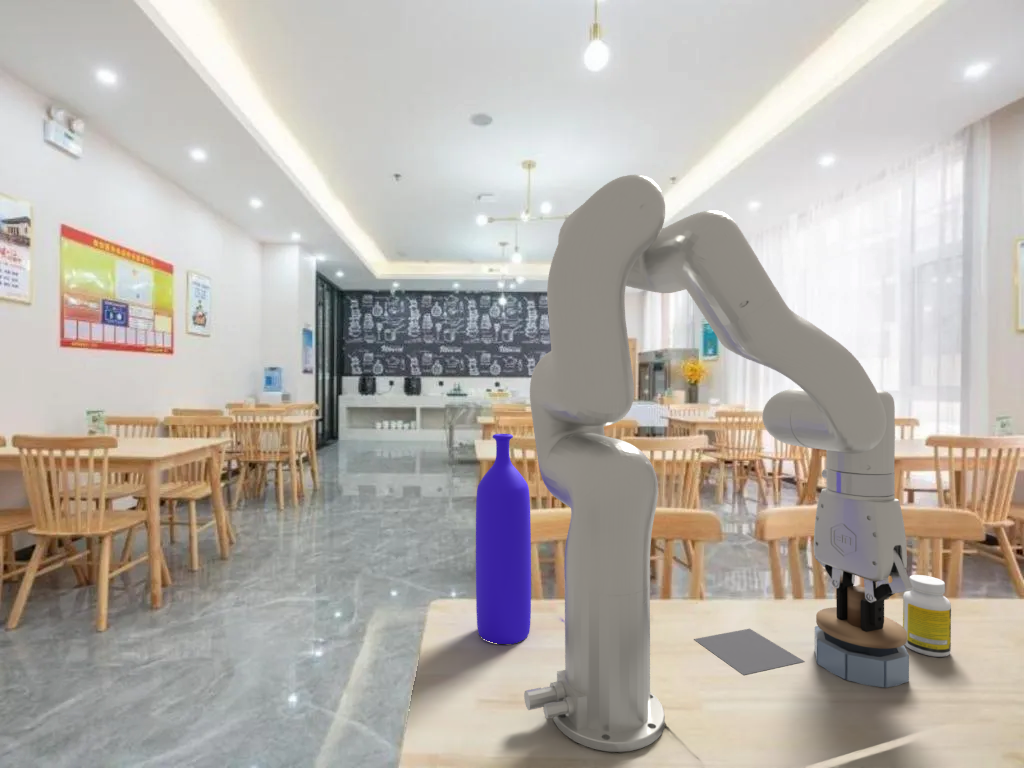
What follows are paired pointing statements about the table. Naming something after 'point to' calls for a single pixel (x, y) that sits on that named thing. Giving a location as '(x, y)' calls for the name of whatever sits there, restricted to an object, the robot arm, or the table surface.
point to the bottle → (503, 551)
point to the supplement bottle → (927, 617)
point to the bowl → (862, 661)
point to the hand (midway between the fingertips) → (859, 622)
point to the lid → (851, 627)
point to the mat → (748, 651)
